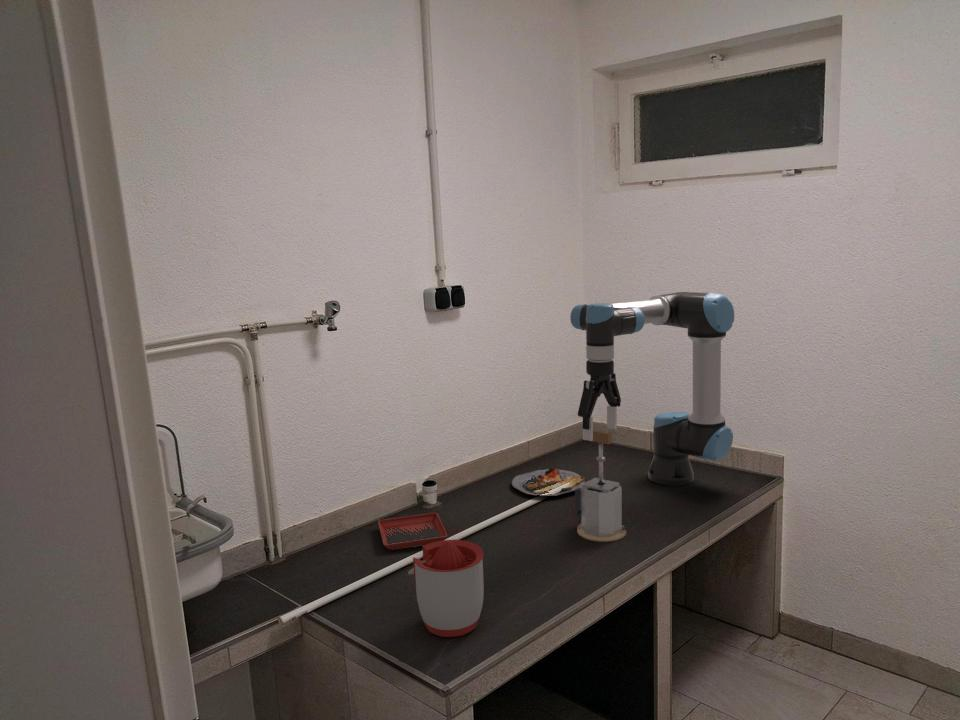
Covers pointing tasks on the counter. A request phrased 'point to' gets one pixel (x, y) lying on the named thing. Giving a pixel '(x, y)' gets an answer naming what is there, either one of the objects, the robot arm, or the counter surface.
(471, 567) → the citrus juicer
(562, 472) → the food plate
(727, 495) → the counter surface
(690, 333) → the robot arm
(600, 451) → the plunger
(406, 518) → the plant saucer
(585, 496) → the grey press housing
